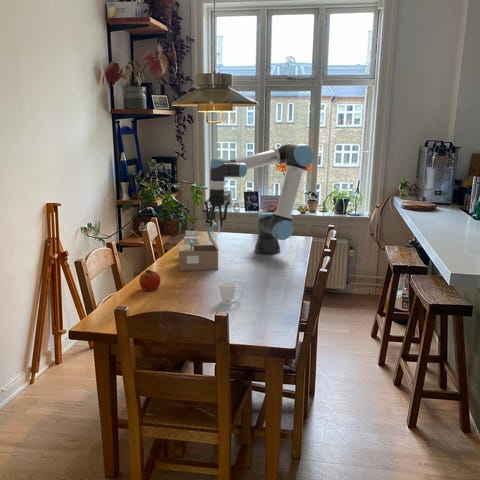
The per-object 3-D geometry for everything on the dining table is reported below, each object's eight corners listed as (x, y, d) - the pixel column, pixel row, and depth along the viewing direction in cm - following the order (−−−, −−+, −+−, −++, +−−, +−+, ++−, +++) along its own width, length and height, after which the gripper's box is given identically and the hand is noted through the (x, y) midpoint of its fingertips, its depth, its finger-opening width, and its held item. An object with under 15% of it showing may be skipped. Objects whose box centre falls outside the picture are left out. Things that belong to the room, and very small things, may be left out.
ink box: (183, 257, 265) (183, 232, 261) (185, 255, 269) (185, 230, 266) (198, 258, 264) (198, 232, 260) (200, 255, 269) (199, 230, 265)
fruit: (164, 286, 217) (163, 266, 214) (156, 293, 208) (155, 272, 205) (144, 285, 219) (143, 265, 216) (136, 292, 210) (135, 271, 207)
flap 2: (216, 244, 253) (226, 237, 253) (217, 250, 240) (228, 243, 240) (204, 229, 250) (214, 221, 250) (205, 234, 237) (216, 227, 237)
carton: (216, 262, 256) (216, 244, 253) (218, 269, 242) (218, 251, 240) (179, 263, 253) (179, 245, 251) (179, 271, 240) (178, 252, 237)
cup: (219, 299, 201) (219, 281, 199) (242, 299, 201) (242, 281, 199) (218, 305, 195) (218, 286, 193) (242, 305, 194) (242, 286, 192)
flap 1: (179, 252, 237) (178, 243, 236) (179, 245, 251) (178, 237, 249) (193, 252, 238) (193, 242, 237) (193, 245, 251) (193, 236, 250)
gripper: (231, 188, 247) (229, 231, 252) (201, 187, 245) (200, 231, 250) (232, 189, 240) (231, 234, 245) (202, 189, 238) (201, 234, 243)
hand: (215, 232), depth 248 cm, fingers open, 3 cm apart
